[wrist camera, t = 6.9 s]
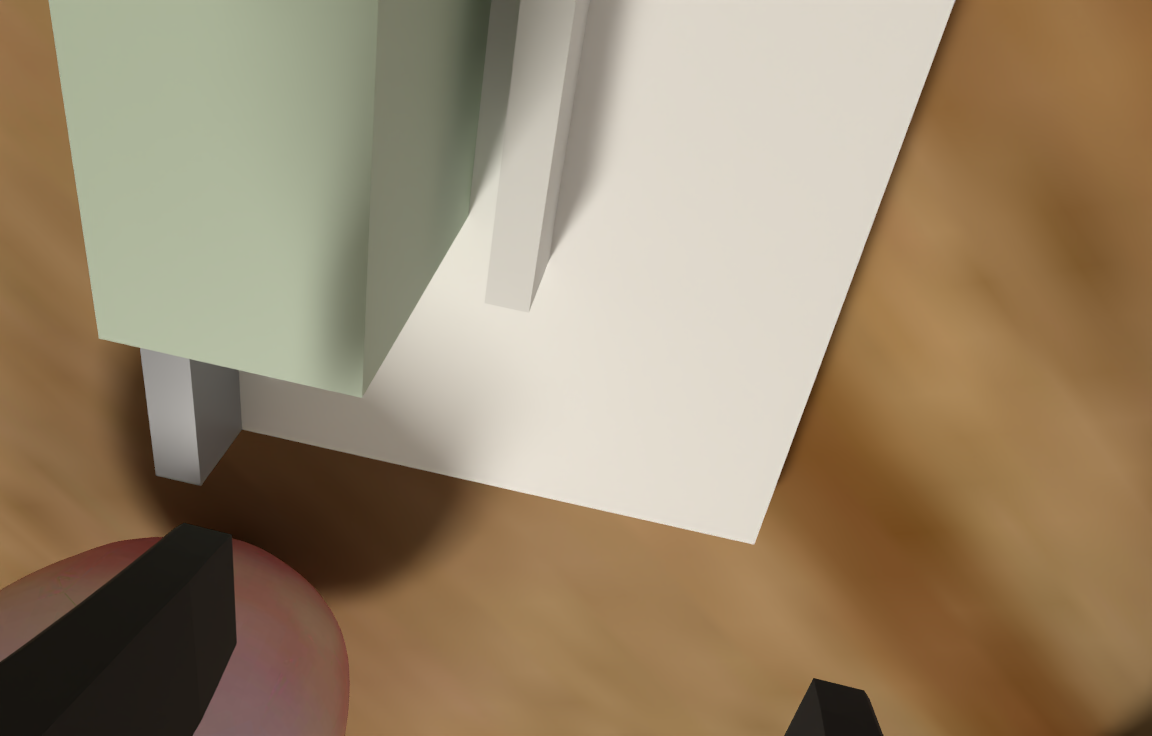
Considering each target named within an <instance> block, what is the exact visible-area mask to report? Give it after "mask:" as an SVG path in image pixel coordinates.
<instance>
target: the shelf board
mask: <svg viewBox="0 0 1152 736" xmlns="http://www.w3.org/2000/svg"><path fill="white" fill-rule="evenodd" d="M954 2H955V0H491V8H490V17H489V27H488V36H487V45H486V55H485V64H484V73H483V83H482V92H481V102H480V111H479V120H478V130H477V139H476V149H475V158H474V167H473V177H472V186H471V196H470V205H469V214H468V218H467V219H466V221H465V223H464V225H463V226H462V228H461V230H460V231H459V233H458V235H457V236H456V238H455V240H454V242H453V243H452V245H451V247H450V248H449V250H448V252H447V254H446V255H445V257H444V259H443V260H442V262H441V264H440V266H439V267H438V269H437V271H436V272H435V274H434V276H433V278H432V279H431V281H430V283H429V284H428V286H427V288H426V289H425V291H424V293H423V295H422V296H421V298H420V300H419V301H418V303H417V305H416V307H415V308H414V310H413V312H412V313H411V315H410V317H409V319H408V320H407V322H406V324H405V325H404V327H403V329H402V331H401V332H400V334H399V336H398V337H397V339H396V341H395V342H394V344H393V346H392V348H391V349H390V351H389V353H388V354H387V356H386V358H385V360H384V361H383V363H382V365H381V366H380V368H379V370H378V372H377V373H376V375H375V377H374V378H373V380H372V382H371V384H370V385H369V387H368V389H367V390H366V392H365V394H364V395H363V397H362V398H360V397H355V396H351V395H347V394H342V393H338V392H333V391H329V390H325V389H320V388H316V387H311V386H307V385H302V384H298V383H294V382H289V381H285V380H280V379H276V378H271V377H267V376H263V375H258V374H254V373H249V372H245V371H241V370H239V383H240V401H241V419H242V430H247V431H251V432H256V433H260V434H265V435H269V436H274V437H278V438H282V439H287V440H291V441H296V442H300V443H305V444H309V445H314V446H318V447H322V448H327V449H331V450H336V451H340V452H345V453H349V454H354V455H358V456H362V457H367V458H371V459H376V460H380V461H385V462H389V463H394V464H398V465H403V466H407V467H411V468H416V469H420V470H425V471H429V472H434V473H438V474H443V475H447V476H451V477H456V478H460V479H465V480H469V481H474V482H478V483H483V484H487V485H492V486H496V487H500V488H505V489H509V490H514V491H518V492H523V493H527V494H532V495H536V496H540V497H545V498H549V499H554V500H558V501H563V502H567V503H572V504H576V505H581V506H585V507H589V508H594V509H598V510H603V511H607V512H612V513H616V514H621V515H625V516H629V517H634V518H638V519H643V520H647V521H652V522H656V523H661V524H665V525H669V526H674V527H678V528H683V529H687V530H692V531H696V532H701V533H705V534H710V535H714V536H718V537H723V538H727V539H732V540H736V541H741V542H745V543H750V544H754V543H755V541H756V538H757V535H758V533H759V530H760V527H761V524H762V522H763V519H764V516H765V514H766V511H767V508H768V506H769V503H770V500H771V497H772V495H773V492H774V489H775V487H776V484H777V481H778V478H779V476H780V473H781V470H782V468H783V465H784V462H785V459H786V457H787V454H788V451H789V449H790V446H791V443H792V441H793V438H794V435H795V432H796V430H797V427H798V424H799V422H800V419H801V416H802V413H803V411H804V408H805V405H806V403H807V400H808V397H809V395H810V392H811V389H812V386H813V384H814V381H815V378H816V376H817V373H818V370H819V367H820V365H821V362H822V359H823V357H824V354H825V351H826V348H827V346H828V343H829V340H830V338H831V335H832V332H833V330H834V327H835V324H836V321H837V319H838V316H839V313H840V311H841V308H842V305H843V302H844V300H845V297H846V294H847V292H848V289H849V286H850V284H851V281H852V278H853V275H854V273H855V270H856V267H857V265H858V262H859V259H860V256H861V254H862V251H863V248H864V246H865V243H866V240H867V237H868V235H869V232H870V229H871V227H872V224H873V221H874V219H875V216H876V213H877V210H878V208H879V205H880V202H881V200H882V197H883V194H884V191H885V189H886V186H887V183H888V181H889V178H890V175H891V173H892V170H893V167H894V164H895V162H896V159H897V156H898V154H899V151H900V148H901V145H902V143H903V140H904V137H905V135H906V132H907V129H908V127H909V124H910V121H911V118H912V116H913V113H914V110H915V108H916V105H917V102H918V99H919V97H920V94H921V91H922V89H923V86H924V83H925V80H926V78H927V75H928V72H929V70H930V67H931V64H932V62H933V59H934V56H935V53H936V51H937V48H938V45H939V43H940V40H941V37H942V34H943V32H944V29H945V26H946V24H947V21H948V18H949V16H950V13H951V10H952V7H953V5H954Z"/></svg>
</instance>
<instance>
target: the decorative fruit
mask: <svg viewBox="0 0 1152 736" xmlns="http://www.w3.org/2000/svg"><path fill="white" fill-rule="evenodd" d="M162 538H163V537H150V538H140V539H132V540H124V541H118V542H114V543H110V544H106V545H103V546H100V547H97V548H94V549H91V550H88V551H85V552H83V553H80V554H78V555H75V556H72V557H69V558H66V559H64V560H61V561H59V562H56V563H54V564H51V565H49V566H46V567H44V568H42V569H40V570H38V571H36V572H33V573H31V574H29V575H27V576H25V577H23V578H21V579H19V580H18V581H16V582H14V583H12V584H10V585H8V586H7V587H5V588H3V589H2V590H0V661H2V660H3V659H5V658H6V657H8V656H9V655H10V654H12V653H13V652H15V651H16V650H17V649H19V648H20V647H22V646H23V645H24V644H26V643H27V642H28V641H30V640H31V639H32V638H34V637H35V636H36V635H38V634H39V633H40V632H42V631H43V630H45V629H46V628H47V627H49V626H50V625H51V624H53V623H54V622H55V621H57V620H58V619H59V618H61V617H62V616H63V615H65V614H66V613H67V612H69V611H70V610H72V609H73V608H74V607H76V606H77V605H78V604H80V603H81V602H82V601H83V600H85V599H86V598H87V597H89V596H90V595H91V594H92V593H94V592H95V591H96V590H98V589H99V588H100V587H101V586H103V585H104V584H105V583H107V582H108V581H109V580H111V579H112V578H113V577H114V576H116V575H117V574H118V573H119V572H121V571H122V570H123V569H124V568H126V567H127V566H128V565H129V564H131V563H132V562H133V561H134V560H136V559H137V558H138V557H139V556H141V555H142V554H143V553H144V552H146V551H147V550H148V549H149V548H151V547H152V546H153V545H154V544H156V543H157V542H158V541H159V540H161V539H162ZM232 546H233V568H234V591H235V613H236V635H237V644H236V646H235V649H234V651H233V653H232V655H231V657H230V660H229V662H228V664H227V666H226V669H225V671H224V673H223V675H222V678H221V680H220V682H219V684H218V686H217V689H216V691H215V693H214V695H213V697H212V699H211V701H210V703H209V706H208V708H207V710H206V712H205V714H204V716H203V718H202V720H201V722H200V724H199V726H198V727H197V729H196V731H195V732H194V734H193V736H345V731H346V724H347V716H348V707H349V687H350V680H349V664H348V656H347V651H346V646H345V642H344V639H343V635H342V632H341V630H340V627H339V625H338V623H337V621H336V619H335V617H334V615H333V613H332V611H331V609H330V608H329V607H328V605H327V604H326V602H325V601H324V600H323V598H322V597H321V595H320V594H319V593H318V592H317V591H316V589H315V588H314V587H313V586H312V585H311V584H310V583H309V582H308V581H307V580H306V579H305V578H304V577H302V576H301V575H300V574H299V573H298V572H296V571H295V570H294V569H293V568H291V567H290V566H288V565H287V564H285V563H284V562H283V561H281V560H280V559H278V558H277V557H275V556H274V555H272V554H270V553H268V552H266V551H265V550H263V549H261V548H259V547H257V546H254V545H252V544H249V543H247V542H244V541H241V540H236V539H232Z"/></svg>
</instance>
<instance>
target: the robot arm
mask: <svg viewBox="0 0 1152 736" xmlns="http://www.w3.org/2000/svg"><path fill="white" fill-rule="evenodd" d="M236 644H237V635H236V613H235V591H234V568H233V546H232V535H231V534H227V533H223V532H219V531H215V530H211V529H207V528H203V527H199V526H194V525H190V524H186V523H183V524H181V525H179V526H178V527H176V528H174V529H173V530H172V531H171V532H169V533H168V534H167V535H166V536H164V537H163V538H162V539H161V540H159V541H158V542H157V543H156V544H154V545H153V546H152V547H151V548H149V549H148V550H147V551H146V552H144V553H143V554H142V555H141V556H139V557H138V558H137V559H136V560H134V561H133V562H132V563H131V564H129V565H128V566H127V567H126V568H124V569H123V570H122V571H121V572H119V573H118V574H117V575H116V576H114V577H113V578H112V579H111V580H109V581H108V582H107V583H105V584H104V585H103V586H101V587H100V588H99V589H98V590H96V591H95V592H94V593H92V594H91V595H90V596H89V597H87V598H86V599H85V600H83V601H82V602H81V603H80V604H78V605H77V606H76V607H74V608H73V609H72V610H70V611H69V612H67V613H66V614H65V615H63V616H62V617H61V618H59V619H58V620H57V621H55V622H54V623H53V624H51V625H50V626H49V627H47V628H46V629H45V630H43V631H42V632H40V633H39V634H38V635H36V636H35V637H34V638H32V639H31V640H30V641H28V642H27V643H26V644H24V645H23V646H22V647H20V648H19V649H17V650H16V651H15V652H13V653H12V654H10V655H9V656H8V657H6V658H5V659H3V660H2V661H0V736H193V734H194V732H195V731H196V729H197V727H198V726H199V724H200V722H201V720H202V718H203V716H204V714H205V712H206V710H207V708H208V706H209V703H210V701H211V699H212V697H213V695H214V693H215V691H216V689H217V686H218V684H219V682H220V680H221V678H222V675H223V673H224V671H225V669H226V666H227V664H228V662H229V660H230V657H231V655H232V653H233V651H234V649H235V646H236ZM784 736H883V734H882V731H881V728H880V726H879V723H878V721H877V718H876V715H875V713H874V710H873V707H872V705H871V702H870V699H869V698H868V696H867V694H866V693H865V691H864V690H860V689H856V688H852V687H848V686H843V685H839V684H835V683H831V682H827V681H823V680H819V679H815V678H813V680H812V682H811V684H810V686H809V688H808V690H807V692H806V694H805V696H804V698H803V700H802V702H801V704H800V706H799V708H798V710H797V712H796V714H795V716H794V718H793V720H792V722H791V724H790V726H789V728H788V729H787V731H786V733H785V735H784Z"/></svg>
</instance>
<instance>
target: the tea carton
mask: <svg viewBox="0 0 1152 736" xmlns="http://www.w3.org/2000/svg"><path fill="white" fill-rule="evenodd" d="M49 7H50V13H51V20H52V27H53V33H54V40H55V47H56V53H57V60H58V67H59V74H60V80H61V87H62V94H63V100H64V107H65V114H66V121H67V127H68V134H69V141H70V147H71V154H72V161H73V167H74V174H75V181H76V188H77V194H78V201H79V208H80V214H81V221H82V228H83V235H84V241H85V248H86V255H87V261H88V268H89V275H90V281H91V288H92V295H93V302H94V308H95V315H96V322H97V328H98V335H99V339H104V340H108V341H112V342H117V343H121V344H126V345H130V346H134V347H139V348H143V349H148V350H152V351H157V352H161V353H165V354H170V355H174V356H179V357H183V358H188V359H192V360H196V361H201V362H205V363H210V364H214V365H218V366H223V367H227V368H232V369H236V370H241V371H245V372H249V373H254V374H258V375H263V376H267V377H271V378H276V379H280V380H285V381H289V382H294V383H298V384H302V385H307V386H311V387H316V388H320V389H325V390H329V391H333V392H338V393H342V394H347V395H351V396H355V397H360V398H362V397H363V395H364V394H365V392H366V390H367V389H368V387H369V385H370V384H371V382H372V380H373V378H374V377H375V375H376V373H377V372H378V370H379V368H380V366H381V365H382V363H383V361H384V360H385V358H386V356H387V354H388V353H389V351H390V349H391V348H392V346H393V344H394V342H395V341H396V339H397V337H398V336H399V334H400V332H401V331H402V329H403V327H404V325H405V324H406V322H407V320H408V319H409V317H410V315H411V313H412V312H413V310H414V308H415V307H416V305H417V303H418V301H419V300H420V298H421V296H422V295H423V293H424V291H425V289H426V288H427V286H428V284H429V283H430V281H431V279H432V278H433V276H434V274H435V272H436V271H437V269H438V267H439V266H440V264H441V262H442V260H443V259H444V257H445V255H446V254H447V252H448V250H449V248H450V247H451V245H452V243H453V242H454V240H455V238H456V236H457V235H458V233H459V231H460V230H461V228H462V226H463V225H464V223H465V221H466V219H467V218H468V214H469V205H470V196H471V186H472V177H473V167H474V158H475V149H476V139H477V130H478V120H479V111H480V102H481V92H482V83H483V73H484V64H485V55H486V45H487V36H488V27H489V17H490V8H491V0H49Z"/></svg>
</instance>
